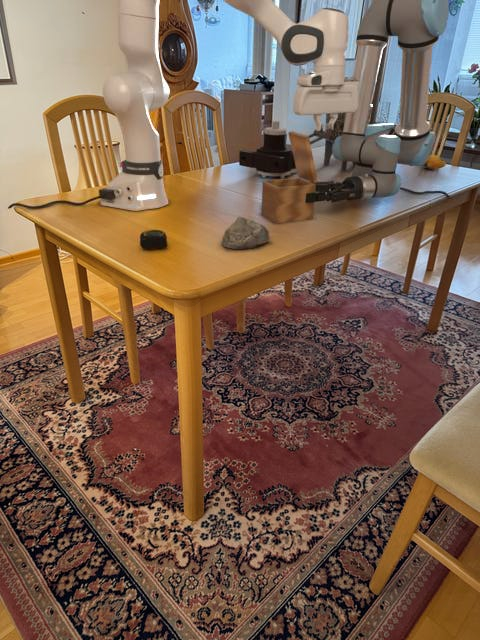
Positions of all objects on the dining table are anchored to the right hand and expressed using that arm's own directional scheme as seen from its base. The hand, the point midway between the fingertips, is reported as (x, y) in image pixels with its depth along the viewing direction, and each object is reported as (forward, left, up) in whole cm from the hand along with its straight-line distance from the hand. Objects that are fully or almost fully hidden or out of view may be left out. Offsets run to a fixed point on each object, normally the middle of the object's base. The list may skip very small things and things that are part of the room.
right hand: (297, 193), depth 141 cm
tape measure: (+38, +34, -7) cm, 51 cm away
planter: (-24, -78, -7) cm, 81 cm away
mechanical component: (+5, -60, -7) cm, 60 cm away
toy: (-65, -82, -7) cm, 105 cm away
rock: (+14, +28, -7) cm, 32 cm away
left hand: (-6, -3, +18) cm, 20 cm away
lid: (0, 0, +11) cm, 11 cm away
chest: (+3, +2, -7) cm, 8 cm away
